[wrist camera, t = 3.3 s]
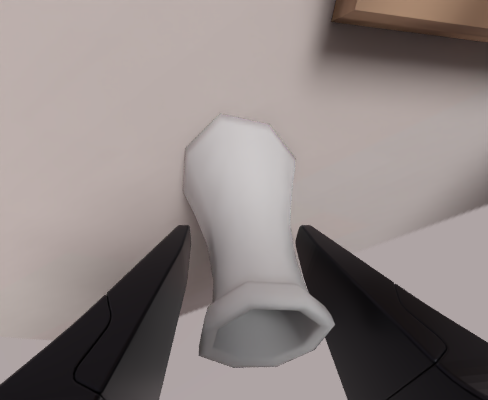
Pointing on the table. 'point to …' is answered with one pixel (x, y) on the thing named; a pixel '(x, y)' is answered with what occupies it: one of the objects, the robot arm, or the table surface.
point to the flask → (250, 246)
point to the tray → (418, 16)
